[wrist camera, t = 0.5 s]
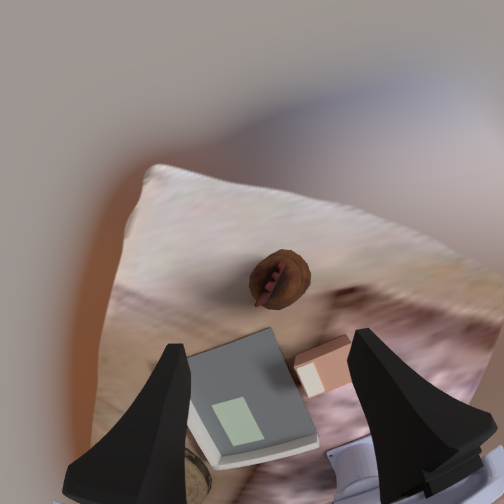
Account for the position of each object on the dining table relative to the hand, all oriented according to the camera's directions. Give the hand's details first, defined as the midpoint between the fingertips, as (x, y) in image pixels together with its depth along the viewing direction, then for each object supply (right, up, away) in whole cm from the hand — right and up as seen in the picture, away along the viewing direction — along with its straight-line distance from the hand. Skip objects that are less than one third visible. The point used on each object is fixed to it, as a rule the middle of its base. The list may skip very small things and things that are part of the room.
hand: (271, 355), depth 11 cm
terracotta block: (+9, -10, +23) cm, 27 cm away
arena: (-2, -17, +25) cm, 30 cm away
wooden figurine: (+3, +1, +25) cm, 25 cm away
